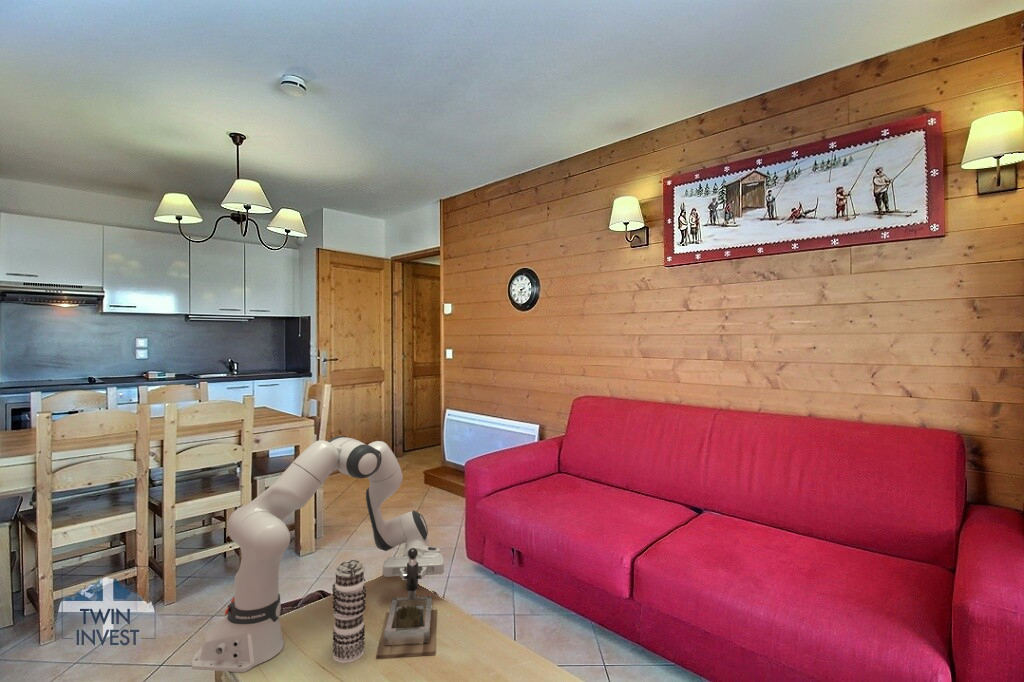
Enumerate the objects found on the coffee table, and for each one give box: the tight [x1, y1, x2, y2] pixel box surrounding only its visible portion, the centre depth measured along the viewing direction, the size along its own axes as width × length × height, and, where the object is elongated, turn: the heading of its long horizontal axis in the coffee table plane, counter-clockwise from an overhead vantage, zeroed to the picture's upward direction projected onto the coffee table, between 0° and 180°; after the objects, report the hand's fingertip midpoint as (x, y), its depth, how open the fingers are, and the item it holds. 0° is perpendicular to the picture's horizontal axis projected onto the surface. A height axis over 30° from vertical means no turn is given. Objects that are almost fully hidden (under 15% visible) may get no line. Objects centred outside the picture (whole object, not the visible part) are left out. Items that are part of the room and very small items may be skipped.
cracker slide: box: [385, 548, 433, 646], centre depth 150 cm, size 12×21×19 cm, turn 7°
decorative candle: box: [331, 559, 367, 664], centre depth 137 cm, size 9×9×25 cm
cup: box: [396, 605, 421, 628], centre depth 144 cm, size 8×7×8 cm
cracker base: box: [375, 606, 438, 660], centre depth 146 cm, size 16×22×6 cm
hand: (412, 577), depth 158 cm, fingers closed on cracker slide, 4 cm apart
